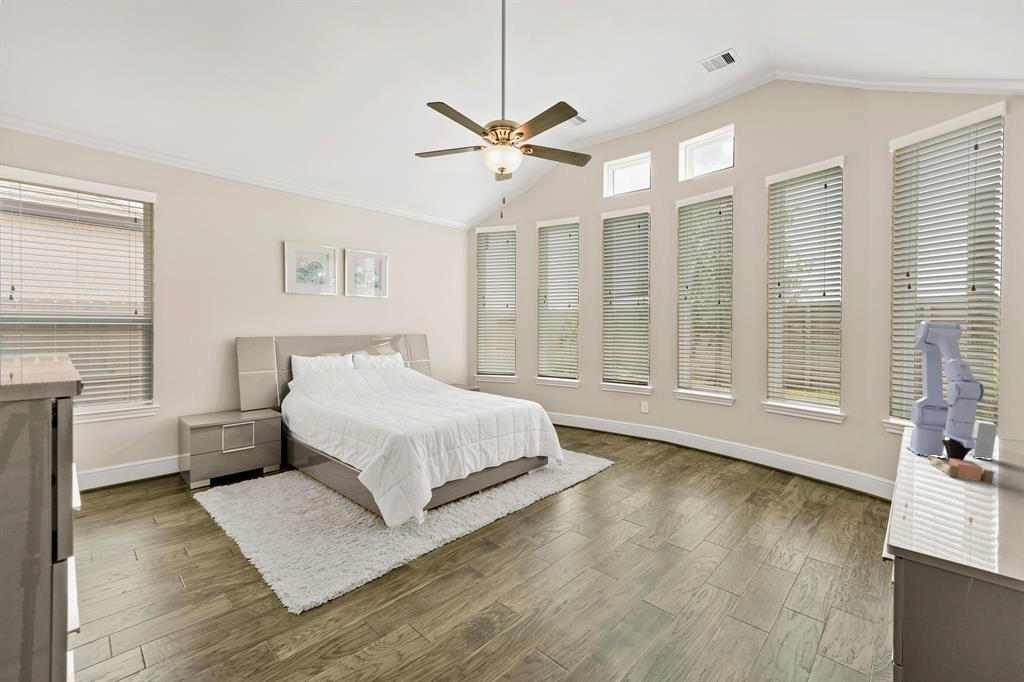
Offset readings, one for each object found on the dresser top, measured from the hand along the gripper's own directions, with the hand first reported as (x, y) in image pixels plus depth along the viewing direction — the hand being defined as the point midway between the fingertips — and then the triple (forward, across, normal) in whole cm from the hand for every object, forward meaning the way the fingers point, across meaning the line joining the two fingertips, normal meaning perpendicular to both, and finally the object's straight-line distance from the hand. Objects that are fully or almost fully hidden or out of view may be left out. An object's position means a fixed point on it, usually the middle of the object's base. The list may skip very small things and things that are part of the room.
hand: (954, 465), depth 133 cm
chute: (+1, -2, 0) cm, 3 cm away
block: (+1, -6, 0) cm, 6 cm away
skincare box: (+1, +22, -15) cm, 27 cm away
